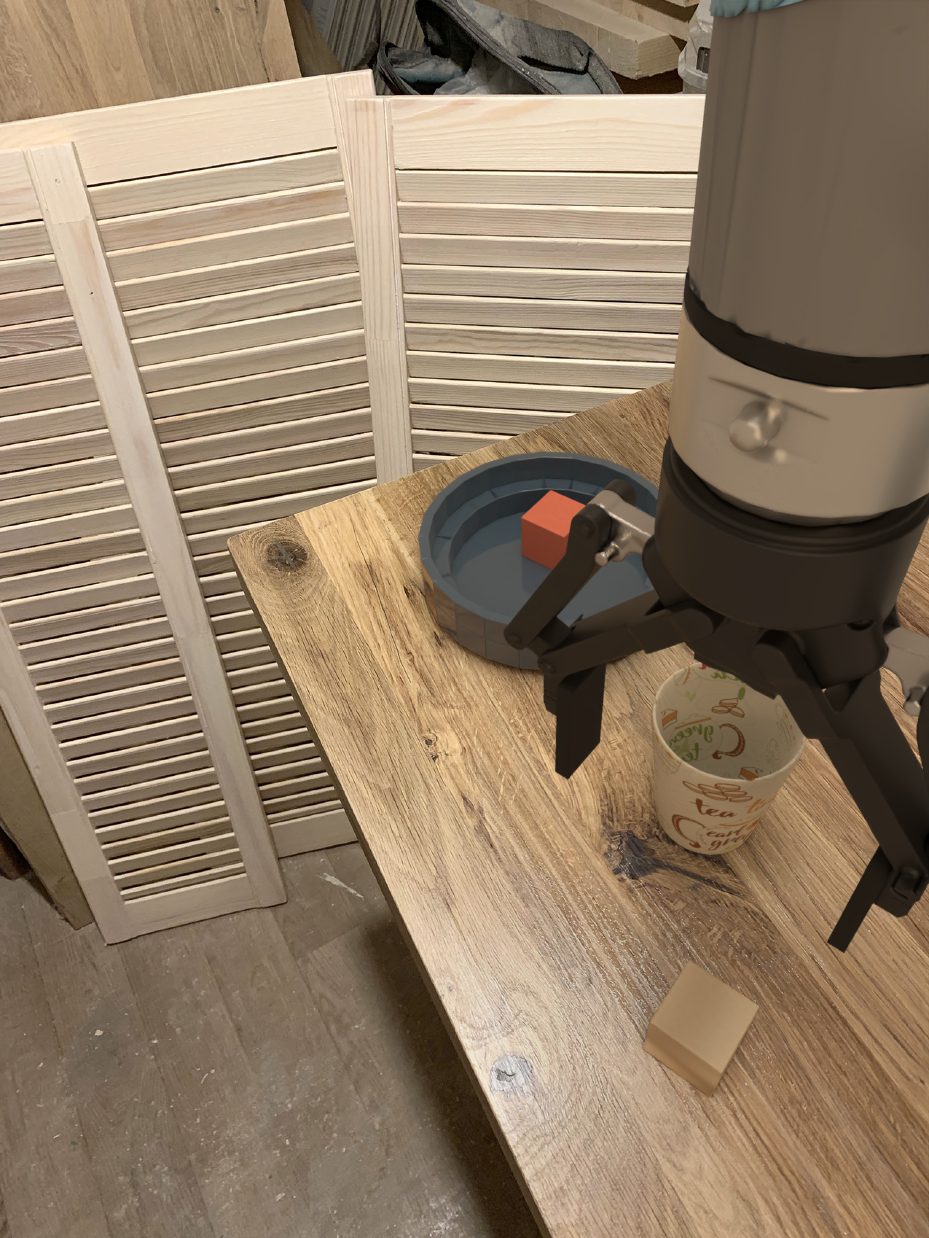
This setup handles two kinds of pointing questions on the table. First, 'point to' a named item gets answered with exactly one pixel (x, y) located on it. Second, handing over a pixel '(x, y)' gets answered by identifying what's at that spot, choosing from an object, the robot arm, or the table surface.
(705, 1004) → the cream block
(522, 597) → the bowl
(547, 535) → the coral block
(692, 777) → the mug
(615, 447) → the table surface
